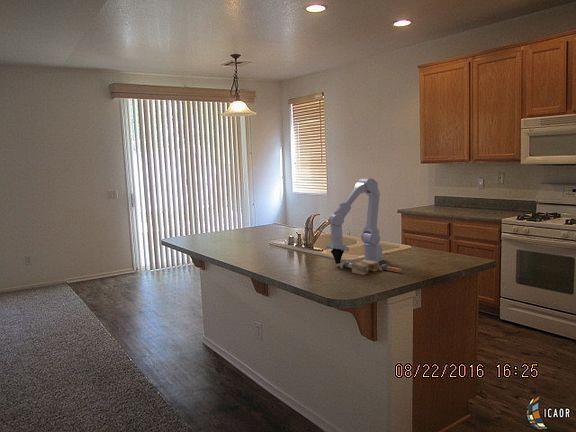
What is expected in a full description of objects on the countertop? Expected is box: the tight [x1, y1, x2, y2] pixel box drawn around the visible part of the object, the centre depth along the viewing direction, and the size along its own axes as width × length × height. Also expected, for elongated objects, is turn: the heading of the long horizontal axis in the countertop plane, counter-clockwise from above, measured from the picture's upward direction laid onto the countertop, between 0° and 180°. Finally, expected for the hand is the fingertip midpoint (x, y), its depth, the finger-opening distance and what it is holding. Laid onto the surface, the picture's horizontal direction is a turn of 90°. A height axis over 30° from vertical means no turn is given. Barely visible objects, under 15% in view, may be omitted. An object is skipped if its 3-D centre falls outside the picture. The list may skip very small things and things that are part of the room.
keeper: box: [381, 263, 403, 273], centre depth 230 cm, size 11×3×2 cm, turn 41°
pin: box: [339, 260, 355, 270], centre depth 241 cm, size 8×6×3 cm
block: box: [351, 260, 380, 276], centre depth 233 cm, size 12×7×4 cm, turn 131°
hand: (338, 263), depth 247 cm, fingers closed
